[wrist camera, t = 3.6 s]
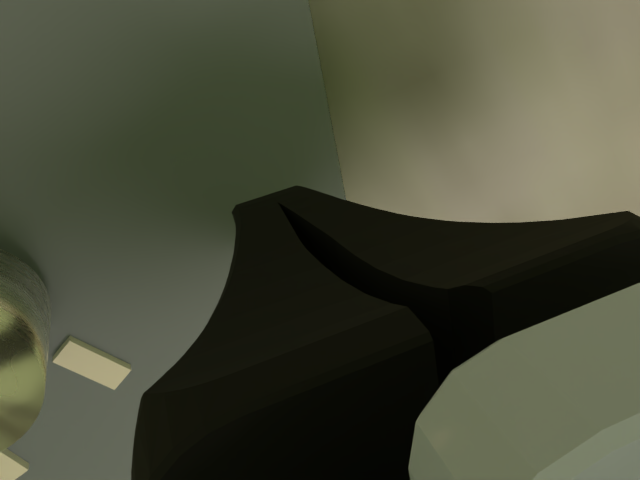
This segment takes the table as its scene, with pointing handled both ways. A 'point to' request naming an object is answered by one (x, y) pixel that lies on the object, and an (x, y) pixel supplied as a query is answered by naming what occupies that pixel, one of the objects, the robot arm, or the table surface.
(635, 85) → the table surface
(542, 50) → the table surface
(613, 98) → the table surface
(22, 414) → the brass lever
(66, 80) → the dial plate
